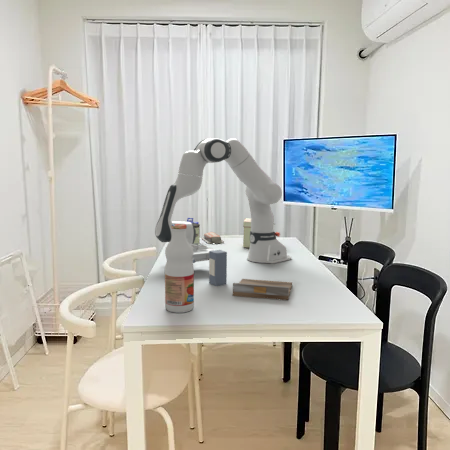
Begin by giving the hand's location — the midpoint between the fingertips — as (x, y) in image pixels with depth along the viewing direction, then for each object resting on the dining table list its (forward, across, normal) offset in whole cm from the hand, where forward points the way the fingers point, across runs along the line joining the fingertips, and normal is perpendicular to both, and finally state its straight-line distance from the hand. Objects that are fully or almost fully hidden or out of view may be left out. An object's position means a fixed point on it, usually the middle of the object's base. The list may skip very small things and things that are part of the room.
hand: (203, 259), depth 182 cm
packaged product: (-69, +44, +8) cm, 82 cm away
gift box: (-43, +60, +8) cm, 74 cm away
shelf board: (+29, +10, +7) cm, 31 cm away
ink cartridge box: (-71, +30, +8) cm, 78 cm away
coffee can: (-51, +20, +8) cm, 56 cm away
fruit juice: (+31, -26, +7) cm, 41 cm away
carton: (+12, 0, +7) cm, 14 cm away
